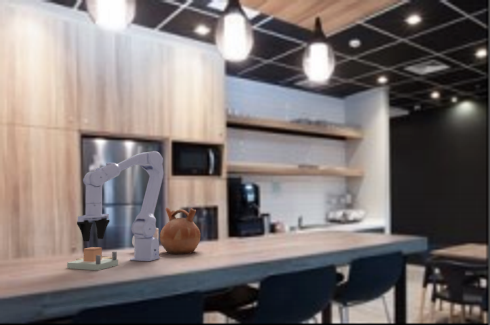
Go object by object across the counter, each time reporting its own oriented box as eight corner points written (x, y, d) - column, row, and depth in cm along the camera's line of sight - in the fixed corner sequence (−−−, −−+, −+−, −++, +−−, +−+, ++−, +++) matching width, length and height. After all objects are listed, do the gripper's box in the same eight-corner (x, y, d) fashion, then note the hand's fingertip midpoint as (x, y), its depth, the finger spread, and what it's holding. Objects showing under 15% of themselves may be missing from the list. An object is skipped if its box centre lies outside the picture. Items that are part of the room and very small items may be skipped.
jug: (150, 254, 183) (151, 208, 184) (173, 248, 199) (173, 206, 201) (187, 256, 176) (187, 208, 177) (207, 250, 192) (207, 206, 194)
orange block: (101, 259, 157) (101, 247, 157) (93, 261, 152) (93, 249, 153) (91, 259, 158) (91, 247, 158) (83, 261, 154) (83, 248, 154)
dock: (118, 264, 158) (118, 251, 158) (98, 270, 147) (98, 256, 148) (88, 263, 163) (88, 250, 163) (67, 268, 152) (67, 254, 153)
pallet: (116, 259, 169) (116, 256, 169) (100, 263, 160) (101, 260, 161) (92, 258, 173) (92, 255, 173) (76, 262, 165) (76, 258, 165)
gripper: (98, 202, 165) (98, 237, 164) (71, 204, 151) (70, 242, 150) (113, 202, 162) (112, 237, 161) (86, 204, 149) (86, 242, 148)
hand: (93, 239), depth 156 cm, fingers open, 7 cm apart
